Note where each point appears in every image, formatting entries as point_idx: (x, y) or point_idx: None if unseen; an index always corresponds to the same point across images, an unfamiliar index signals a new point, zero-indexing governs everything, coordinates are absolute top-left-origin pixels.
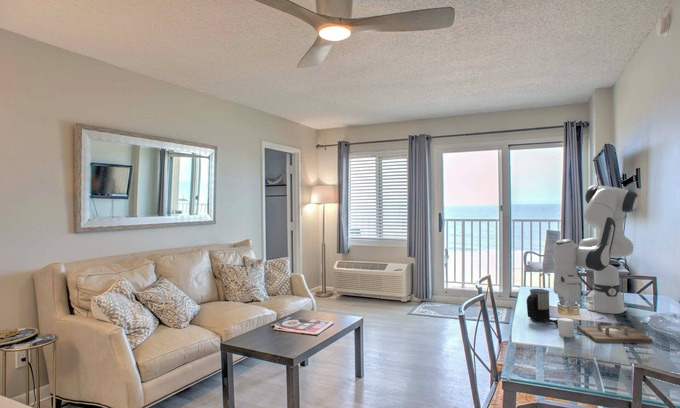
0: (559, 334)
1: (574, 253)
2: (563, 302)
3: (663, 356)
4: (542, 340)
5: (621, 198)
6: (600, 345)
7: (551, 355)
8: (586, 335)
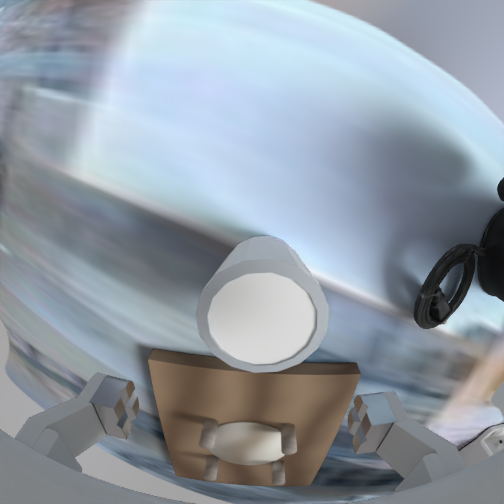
0: (266, 236)
1: None
2: (358, 436)
3: None
4: (166, 97)
5: None
6: (116, 344)
7: (11, 105)
8: None
